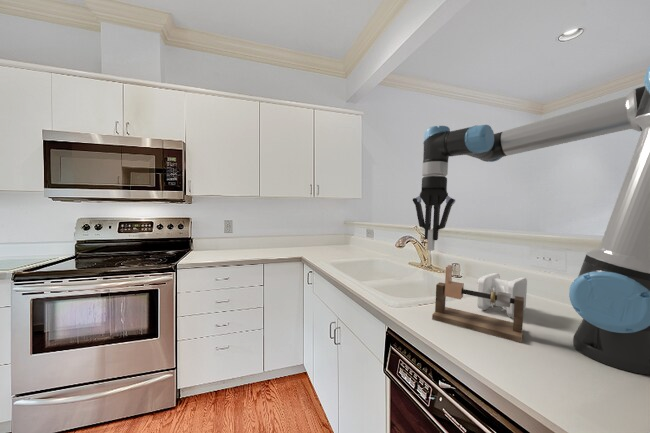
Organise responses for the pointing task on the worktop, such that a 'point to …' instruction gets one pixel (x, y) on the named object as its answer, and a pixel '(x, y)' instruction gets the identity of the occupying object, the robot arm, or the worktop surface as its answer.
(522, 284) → the cable organizer
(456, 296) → the tan wooden l-shaped block
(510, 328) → the brown rod stand
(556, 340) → the worktop surface
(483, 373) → the worktop surface
